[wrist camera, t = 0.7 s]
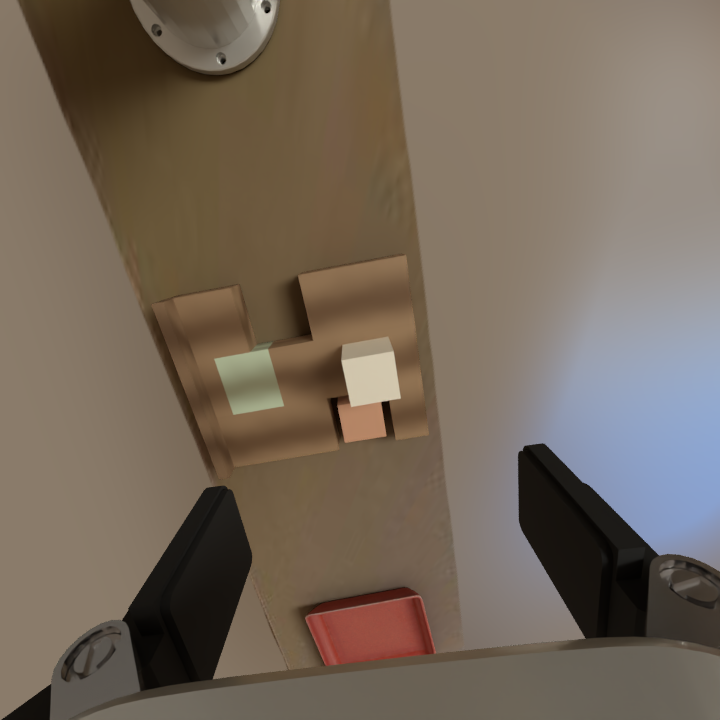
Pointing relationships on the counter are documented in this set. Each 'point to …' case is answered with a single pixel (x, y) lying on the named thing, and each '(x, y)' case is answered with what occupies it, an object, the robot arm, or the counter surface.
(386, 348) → the cream cube
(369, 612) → the plant saucer
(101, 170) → the counter surface
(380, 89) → the counter surface
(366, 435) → the salmon block
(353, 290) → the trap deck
